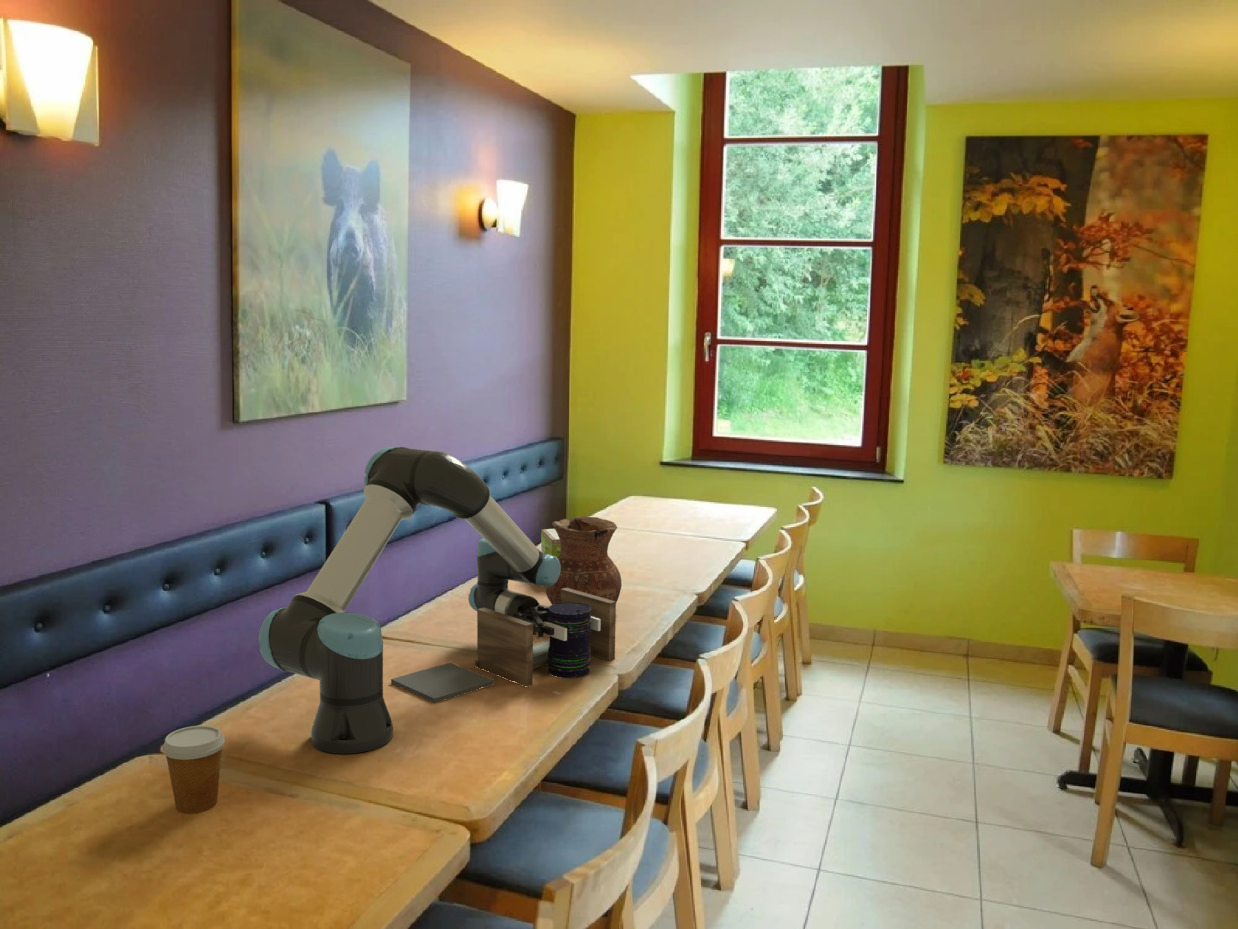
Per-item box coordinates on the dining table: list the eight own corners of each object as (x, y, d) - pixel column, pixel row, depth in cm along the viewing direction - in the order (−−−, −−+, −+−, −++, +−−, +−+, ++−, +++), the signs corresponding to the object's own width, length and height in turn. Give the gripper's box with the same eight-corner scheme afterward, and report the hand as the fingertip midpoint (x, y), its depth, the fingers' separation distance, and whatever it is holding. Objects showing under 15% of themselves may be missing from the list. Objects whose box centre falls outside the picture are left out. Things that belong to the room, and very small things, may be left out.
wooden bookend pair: (525, 687, 227) (526, 625, 225) (474, 667, 240) (474, 608, 238) (614, 658, 247) (615, 601, 245) (563, 641, 260) (564, 586, 258)
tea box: (540, 574, 325) (540, 528, 323) (571, 572, 328) (571, 526, 326) (551, 586, 311) (551, 538, 309) (583, 584, 314) (584, 536, 312)
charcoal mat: (434, 703, 217) (434, 698, 217) (391, 683, 228) (391, 679, 228) (494, 684, 229) (494, 680, 228) (450, 666, 239) (450, 662, 239)
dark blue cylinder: (538, 670, 238) (539, 607, 236) (570, 661, 245) (571, 599, 243) (567, 682, 231) (568, 617, 229) (599, 672, 238) (600, 608, 236)
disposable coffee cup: (205, 822, 165) (202, 750, 164) (152, 815, 167) (149, 744, 166) (238, 795, 175) (236, 727, 173) (188, 789, 177) (185, 722, 175)
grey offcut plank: (532, 664, 239) (533, 657, 238) (517, 659, 242) (517, 651, 242) (565, 653, 247) (565, 645, 247) (549, 648, 250) (549, 640, 250)
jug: (632, 618, 280) (634, 527, 276) (558, 625, 272) (559, 532, 269) (603, 597, 300) (605, 512, 297) (534, 603, 293) (534, 516, 289)
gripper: (552, 615, 257) (617, 635, 242) (481, 634, 241) (545, 657, 226) (553, 585, 256) (617, 604, 241) (481, 602, 240) (545, 623, 225)
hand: (582, 629), depth 233 cm, fingers closed on dark blue cylinder, 10 cm apart
